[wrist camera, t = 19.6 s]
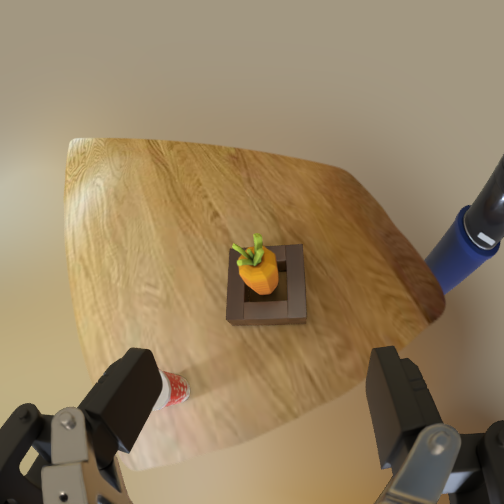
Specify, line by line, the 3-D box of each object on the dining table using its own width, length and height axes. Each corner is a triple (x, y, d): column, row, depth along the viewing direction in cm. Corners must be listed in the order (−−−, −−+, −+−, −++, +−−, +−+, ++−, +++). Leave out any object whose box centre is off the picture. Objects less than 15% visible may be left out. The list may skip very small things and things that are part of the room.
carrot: (260, 312, 41) (239, 275, 28) (246, 285, 44) (220, 238, 30) (289, 296, 42) (282, 252, 28) (273, 270, 44) (260, 217, 31)
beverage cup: (193, 369, 39) (147, 360, 26) (196, 408, 36) (150, 415, 24) (158, 370, 39) (104, 359, 27) (160, 407, 37) (105, 410, 24)
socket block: (302, 255, 44) (302, 243, 41) (306, 323, 39) (306, 317, 36) (235, 259, 46) (229, 248, 42) (232, 325, 41) (225, 319, 38)
